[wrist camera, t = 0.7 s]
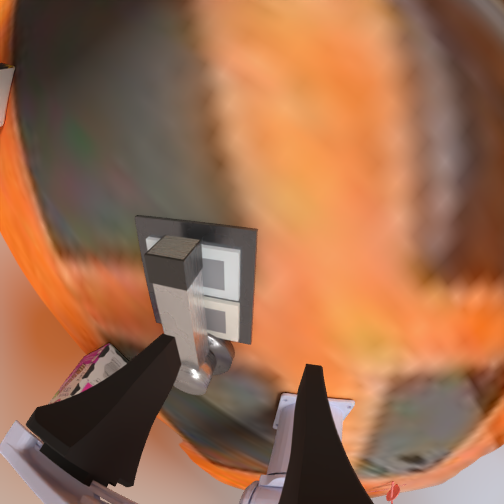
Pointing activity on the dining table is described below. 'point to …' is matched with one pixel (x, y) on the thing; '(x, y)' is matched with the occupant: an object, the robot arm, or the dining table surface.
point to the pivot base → (221, 353)
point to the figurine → (392, 492)
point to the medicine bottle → (5, 88)
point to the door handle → (183, 307)
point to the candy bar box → (91, 372)
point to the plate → (211, 236)
